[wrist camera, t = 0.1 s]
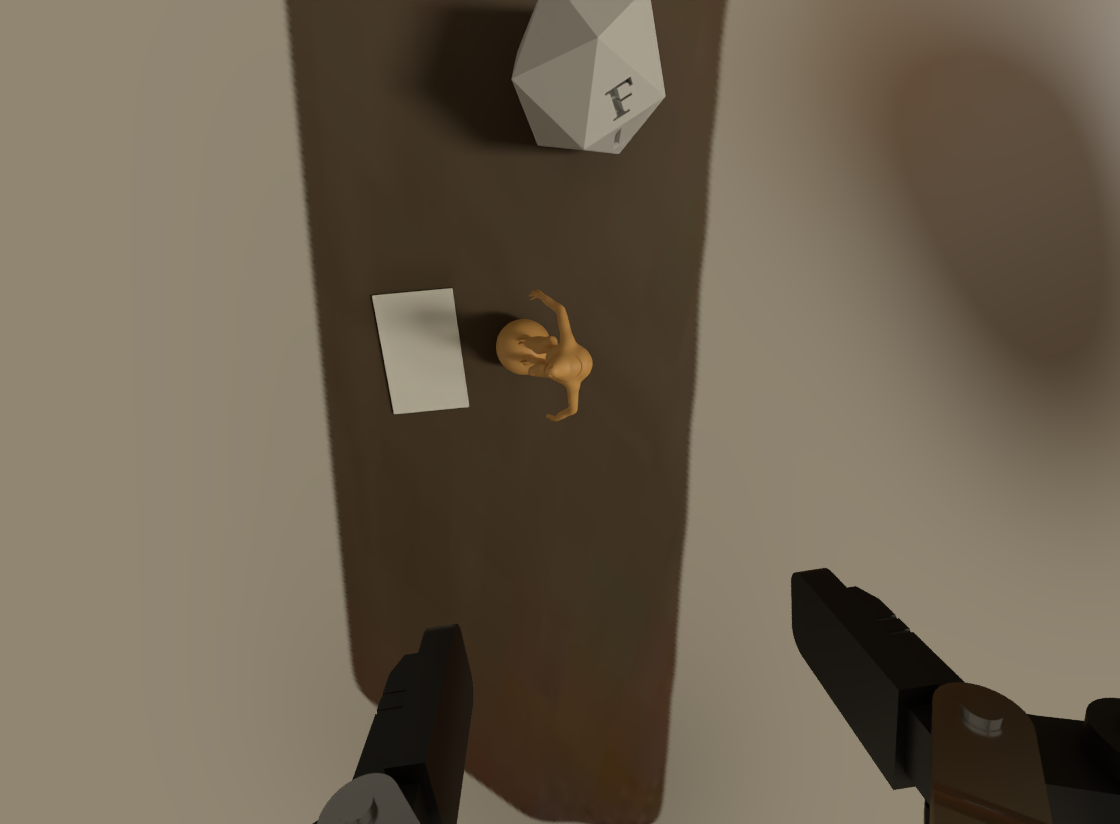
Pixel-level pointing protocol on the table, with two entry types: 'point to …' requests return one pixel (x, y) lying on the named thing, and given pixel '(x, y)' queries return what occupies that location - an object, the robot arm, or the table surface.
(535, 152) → the table surface
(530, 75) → the die
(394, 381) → the grey mat
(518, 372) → the figurine
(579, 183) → the table surface
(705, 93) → the table surface
